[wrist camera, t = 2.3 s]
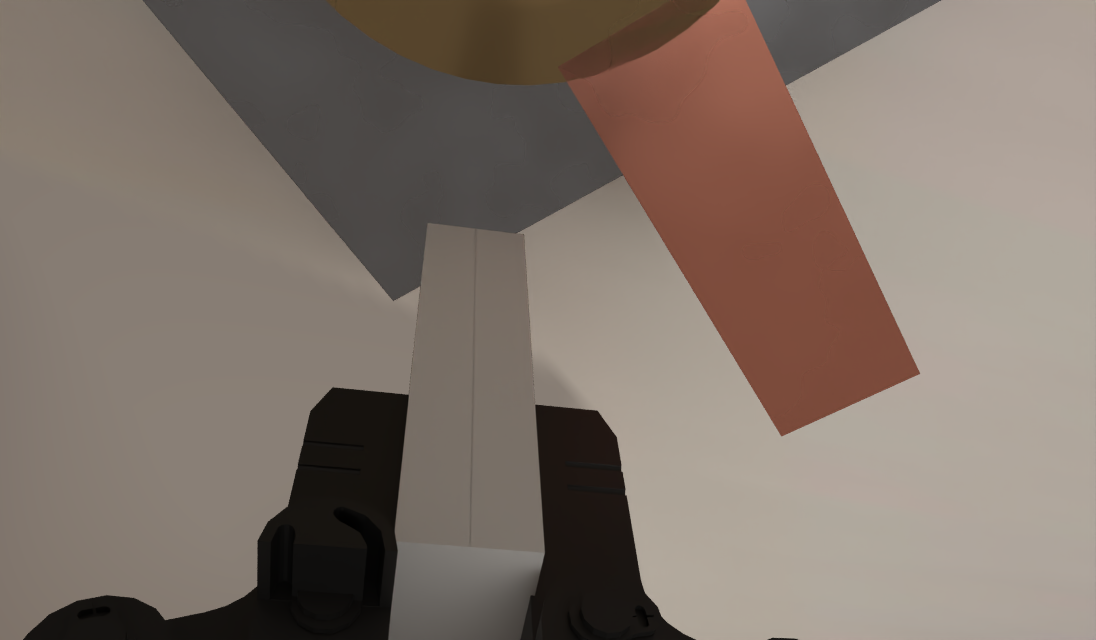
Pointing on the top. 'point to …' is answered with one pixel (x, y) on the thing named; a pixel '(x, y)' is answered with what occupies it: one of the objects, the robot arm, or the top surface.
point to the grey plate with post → (437, 118)
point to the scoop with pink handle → (694, 171)
